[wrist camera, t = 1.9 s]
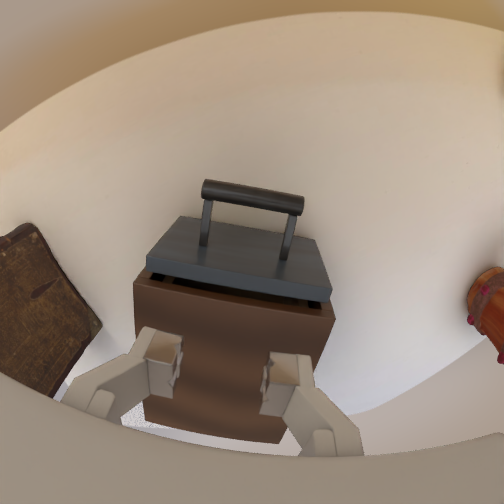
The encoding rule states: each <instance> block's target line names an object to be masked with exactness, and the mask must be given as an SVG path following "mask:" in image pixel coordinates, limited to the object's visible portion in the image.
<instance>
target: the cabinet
mask: <svg viewBox="0 0 504 504" xmlns="http://www.w3.org/2000/svg"><path fill="white" fill-rule="evenodd" d="M165 276H166V275H164V274H159V273H154V272H149V271H146V266H145V267H144V269H143V270H142V271H141V273H140V274H139V275H138V277H137V278H136V280H135V281H134V282H133V297H134V318H135V334H136V339H137V337H138V335H139V333H140V331H141V330H142V328H143V327H145V326H146V327H149V328H153V329H157V330H162V331H166V332H170V333H174V334H178V335H183V336H184V346H183V349H182V351H183V353H184V355H183V364H182V369H181V373H180V376H179V377H178V378H177V386H176V389H175V392H174V395H173V399H171V398H167V397H162V396H158V395H153V394H150V395H149V396H148V397H146V398H145V399H144V400H142V401H143V408H144V415H145V421H148V422H152V423H156V424H160V425H164V426H168V427H172V428H177V429H181V430H186V431H190V432H196V433H200V434H206V435H212V436H217V437H224V438H230V439H237V440H244V441H253V442H263V443H272V444H279V442H280V441H281V439H282V437H283V435H284V433H285V431H286V429H287V425H286V424H285V422H284V421H283V419H282V417H278V416H270V415H263V414H259V400H260V397H261V394H262V393H261V392H260V382H261V376H262V372H263V368H264V366H266V357H267V354H268V352H269V351H274V352H281V353H289V354H300V355H309V356H310V357H311V362H312V369H313V373H314V370H315V368H316V366H317V363H318V361H319V359H320V356H321V354H322V352H323V349H324V347H325V345H326V342H327V340H328V337H329V335H330V332H331V330H332V327H333V325H334V322H335V320H336V318H335V314H334V311H333V307H332V304H331V301H330V298H329V301H328V303H323V302H317V301H310V300H307V301H308V306H309V308H305V307H299V306H292V305H286V304H279V303H273V302H267V301H261V300H255V299H250V298H244V297H238V296H232V295H227V294H221V293H216V292H211V291H205V290H200V289H195V288H190V287H185V286H180V285H175V284H170V283H165V282H162V281H163V279H164V278H165Z"/></svg>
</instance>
